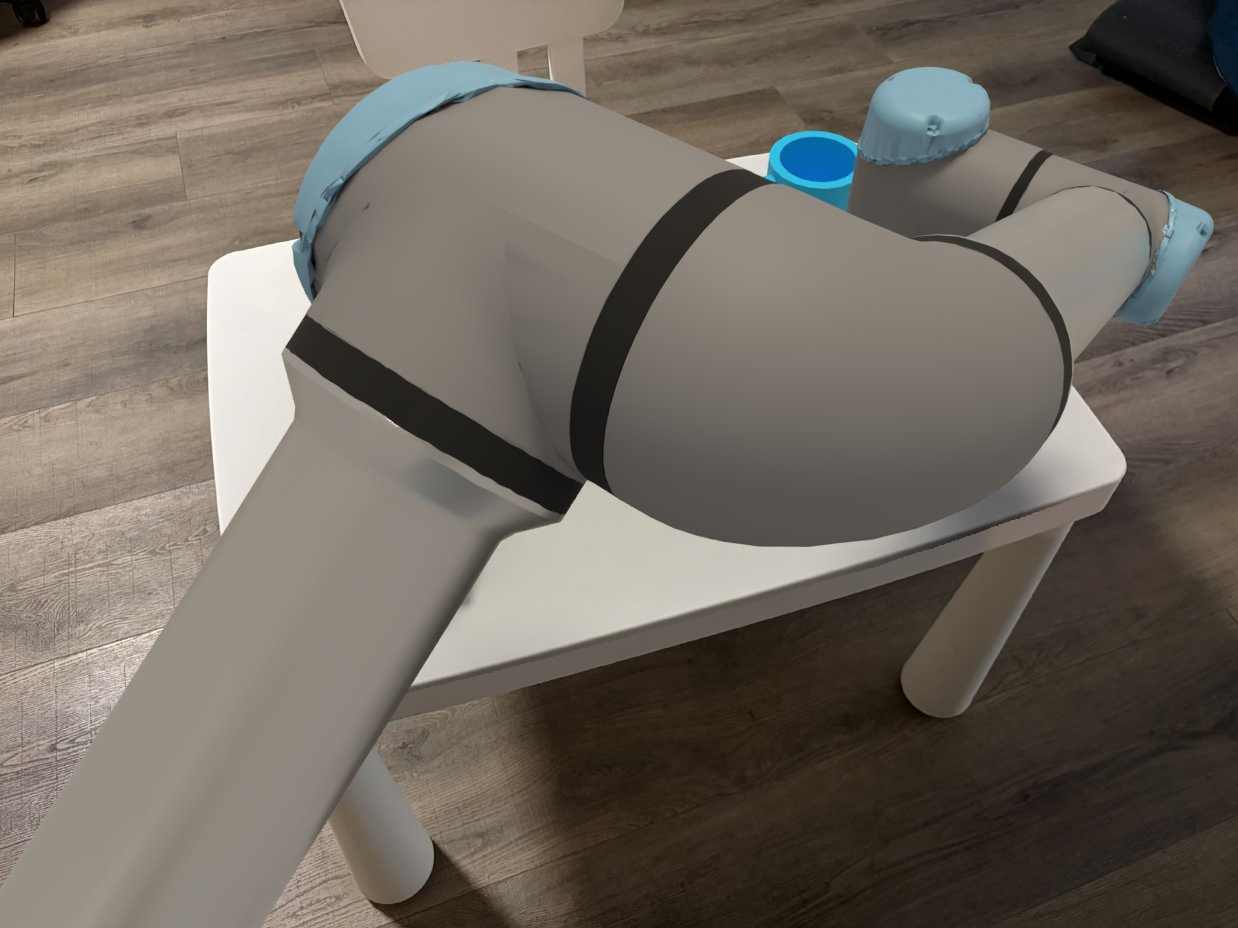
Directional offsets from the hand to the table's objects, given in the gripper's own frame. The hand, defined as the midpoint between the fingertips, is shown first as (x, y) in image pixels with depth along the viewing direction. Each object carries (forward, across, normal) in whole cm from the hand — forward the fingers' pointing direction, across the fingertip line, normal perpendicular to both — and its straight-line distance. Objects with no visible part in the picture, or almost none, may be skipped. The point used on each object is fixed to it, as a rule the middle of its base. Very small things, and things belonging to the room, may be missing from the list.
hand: (460, 253), depth 75 cm
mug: (-27, +20, -14) cm, 37 cm away
